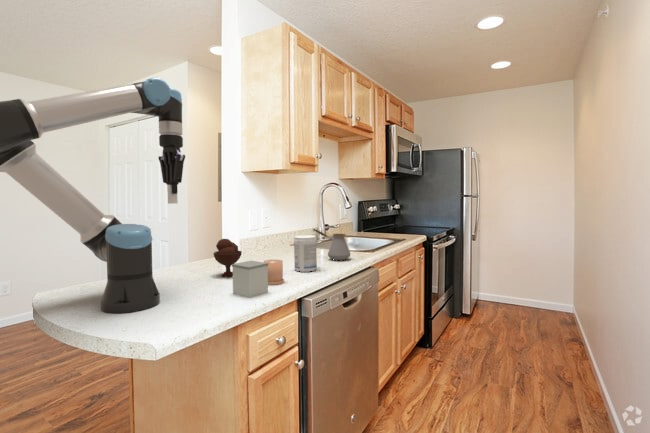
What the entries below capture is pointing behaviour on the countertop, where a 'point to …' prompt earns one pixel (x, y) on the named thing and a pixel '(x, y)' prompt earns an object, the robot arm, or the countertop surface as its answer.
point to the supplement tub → (305, 253)
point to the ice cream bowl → (227, 255)
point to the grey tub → (250, 278)
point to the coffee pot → (337, 247)
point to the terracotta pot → (275, 272)
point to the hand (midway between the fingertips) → (172, 203)
